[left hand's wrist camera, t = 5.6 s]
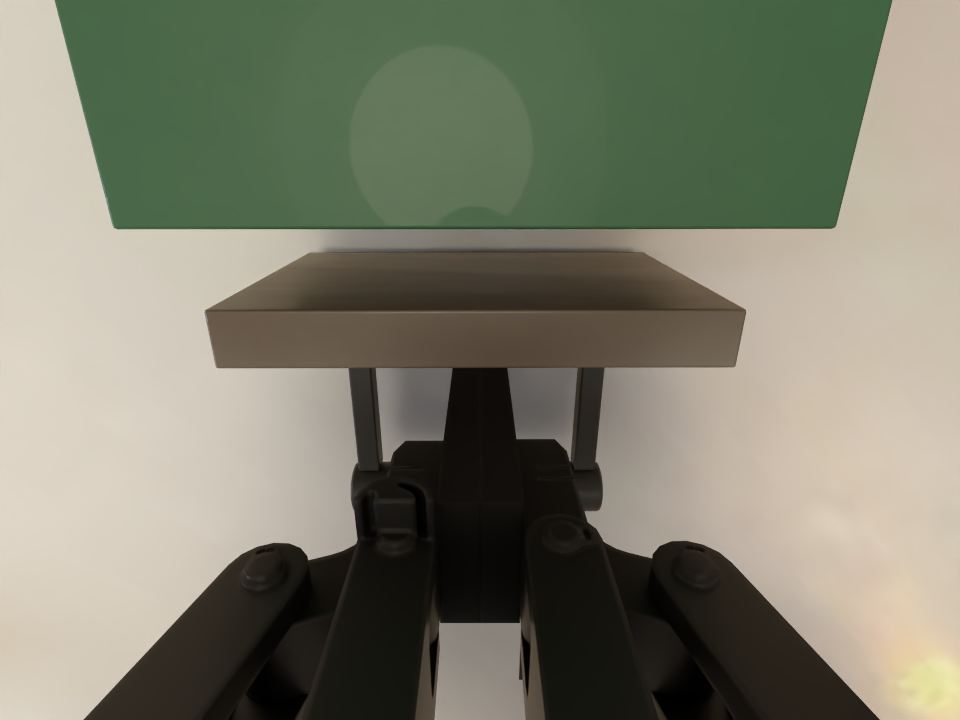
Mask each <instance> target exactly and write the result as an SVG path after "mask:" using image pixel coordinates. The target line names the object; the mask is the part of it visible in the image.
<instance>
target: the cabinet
mask: <svg viewBox="0 0 960 720" xmlns="http://www.w3.org/2000/svg"><path fill="white" fill-rule="evenodd" d="M55 3H56V7H57V11H58V15H59V19H60V22H61V26H62V30H63V34H64V38H65V42H66V46H67V50H68V54H69V57H70V61H71V65H72V69H73V73H74V77H75V81H76V85H77V88H78V92H79V96H80V100H81V104H82V108H83V112H84V116H85V120H86V123H87V127H88V131H89V135H90V139H91V143H92V147H93V151H94V154H95V158H96V162H97V166H98V170H99V174H100V178H101V182H102V186H103V189H104V193H105V197H106V201H107V205H108V209H109V213H110V217H111V220H112V224H113V227H114V228H116V229H832V228H834V227H835V226H836V224H837V220H838V216H839V212H840V208H841V204H842V200H843V196H844V192H845V188H846V184H847V180H848V176H849V172H850V168H851V164H852V160H853V156H854V152H855V148H856V144H857V140H858V136H859V132H860V128H861V124H862V120H863V116H864V112H865V108H866V104H867V100H868V96H869V92H870V88H871V84H872V80H873V76H874V72H875V68H876V64H877V60H878V56H879V52H880V48H881V44H882V40H883V36H884V32H885V28H886V24H887V20H888V16H889V12H890V8H891V4H892V0H55Z"/></svg>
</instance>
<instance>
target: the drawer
mask: <svg viewBox="0 0 960 720" xmlns="http://www.w3.org/2000/svg"><path fill="white" fill-rule="evenodd" d="M745 315H746V310H745V309H743V308H742V307H740V306H738V305H736V304H735V303H733V302H731V301H729V300H727V299H726V298H724V297H722V296H720V295H718V294H717V293H715V292H713V291H711V290H709V289H708V288H706V287H704V286H702V285H700V284H699V283H697V282H695V281H693V280H691V279H690V278H688V277H686V276H684V275H682V274H681V273H679V272H677V271H675V270H674V269H672V268H670V267H668V266H666V265H665V264H663V263H661V262H659V261H657V260H656V259H654V258H652V257H650V256H648V255H647V254H645V253H643V252H589V253H308V254H307V255H305V256H303V257H301V258H299V259H298V260H296V261H294V262H292V263H290V264H288V265H287V266H285V267H283V268H281V269H279V270H278V271H276V272H274V273H272V274H270V275H269V276H267V277H265V278H263V279H261V280H259V281H258V282H256V283H254V284H252V285H250V286H249V287H247V288H245V289H243V290H241V291H240V292H238V293H236V294H234V295H232V296H230V297H229V298H227V299H225V300H223V301H221V302H220V303H218V304H216V305H214V306H212V307H211V308H209V309H207V310H205V316H206V321H207V326H208V331H209V336H210V340H211V345H212V350H213V355H214V360H215V365H216V367H217V368H349V377H350V387H351V396H352V406H353V416H354V426H355V435H356V445H357V455H358V463H357V464H356V465H355V468H354V471H353V475H352V481H351V502H352V506H353V509H354V502H353V499H354V498H355V497H356V495H357V494H358V492H359V491H360V490H361V489H362V488H364V487H365V486H367V485H368V484H370V483H372V482H375V481H377V480H380V479H383V478H386V477H387V473H388V470H389V466H390V463H391V462H382V461H383V454H382V442H381V430H380V417H379V405H378V393H377V380H376V368H578V370H577V383H576V397H575V410H574V423H573V436H572V449H571V461H570V464H571V468H572V471H573V475H574V479H575V481H576V485H577V488H578V492H579V495H580V498H581V502H582V505H583V509H584V511H598V510H599V509H600V507H601V504H602V497H603V485H602V476H601V472H600V468H599V466H598V464H597V463H596V462H595V459H596V448H597V438H598V428H599V417H600V407H601V397H602V386H603V376H604V367H735V365H736V360H737V355H738V350H739V345H740V340H741V335H742V330H743V325H744V320H745Z"/></svg>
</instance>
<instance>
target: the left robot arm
mask: <svg viewBox="0 0 960 720" xmlns="http://www.w3.org/2000/svg"><path fill="white" fill-rule="evenodd" d="M353 502H354V511H355V520H356V529H357V538H358V540H357V544H355V545H354V546H352V547H350V548H348V549H346V550H344V551H342V552H339V553H336V554H333V555H329V556H325V557H321V558H317V559H312V560H308V557H307V555H306V554H305V553H304V552H303V551H302V549H301V548H299V547H296V546H294V545H291V544H288V543H272V544H268V545H263V546H259V547H256V548H254V549H252V550H250V551H248V552H246V553H244V554H242V555H240V556H239V557H238V558H237V559H235V560H234V561H233V562H232V563H230V564H229V565H228V566H227V567H226V568H225V569H224V570H223V572H222V573H221V574H220V575H219V576H218V577H217V578H216V579H215V580H214V581H213V582H212V583H211V584H210V585H209V587H208V588H207V589H206V590H205V591H204V592H203V593H202V594H201V595H200V596H199V597H198V598H197V599H196V600H195V601H194V603H193V604H192V605H191V606H190V607H189V608H188V609H187V610H186V611H185V612H184V613H183V614H182V615H181V616H180V617H179V619H178V620H177V621H176V622H175V623H174V624H173V625H172V626H171V627H170V628H169V629H168V630H167V631H166V632H165V633H164V635H163V636H162V637H161V638H160V639H159V640H158V641H157V642H156V643H155V644H154V645H153V646H152V647H151V648H150V649H149V651H148V652H147V653H146V654H145V655H144V656H143V657H142V658H141V659H140V660H139V661H138V662H137V663H136V664H135V666H134V667H133V668H132V669H131V670H130V671H129V672H128V673H127V674H126V675H125V676H124V677H123V678H122V679H121V680H120V682H119V683H118V684H117V685H116V686H115V687H114V688H113V689H112V690H111V691H110V692H109V693H108V694H107V695H106V696H105V698H104V699H103V700H102V701H101V702H100V703H99V704H98V705H97V706H96V707H95V708H94V709H93V710H92V711H91V712H90V714H89V715H88V716H87V717H86V718H85V719H84V720H434V715H435V703H436V690H437V677H438V664H439V652H440V647H439V621H440V623H520V619H521V646H520V671H519V680H523V689H524V702H525V715H526V720H880V719H879V718H878V717H877V716H876V715H875V714H874V713H873V712H872V711H871V710H870V709H869V708H868V707H867V706H866V705H865V704H864V702H863V701H862V700H861V699H860V698H859V697H858V696H857V695H856V694H855V693H854V692H853V691H852V690H851V689H850V688H849V687H848V686H847V684H846V683H845V682H844V681H843V680H842V679H841V678H840V677H839V676H838V675H837V674H836V673H835V672H834V671H833V670H832V669H831V667H830V666H829V665H828V664H827V663H826V662H825V661H824V660H823V659H822V658H821V657H820V656H819V655H818V654H817V653H816V652H815V651H814V649H813V648H812V647H811V646H810V645H809V644H808V643H807V642H806V641H805V640H804V639H803V638H802V637H801V636H800V635H799V634H798V632H797V631H796V630H795V629H794V628H793V627H792V626H791V625H790V624H789V623H788V622H787V621H786V620H785V619H784V618H783V617H782V616H781V614H780V613H779V612H778V611H777V610H776V609H775V608H774V607H773V606H772V605H771V604H770V603H769V602H768V601H767V600H766V599H765V597H764V596H763V595H762V594H761V593H760V592H759V591H758V590H757V589H756V588H755V587H754V586H753V585H752V584H751V583H750V582H749V581H748V579H747V578H746V577H745V576H744V575H743V574H742V573H741V572H740V571H739V570H738V569H737V568H736V567H735V566H734V565H733V564H732V563H731V562H730V561H729V560H728V559H726V558H725V557H724V556H723V555H721V554H720V553H719V552H717V551H715V550H713V549H711V548H709V547H707V546H705V545H702V544H697V543H693V542H689V541H671V542H669V543H666V544H664V545H661V546H659V548H658V549H657V550H656V551H655V552H654V554H653V557H652V558H648V557H643V556H639V555H635V554H631V553H627V552H624V551H621V550H618V549H616V548H614V547H612V546H610V545H608V544H606V543H605V542H603V540H602V538H601V536H600V534H599V533H598V531H597V529H596V528H594V527H593V526H592V525H590V524H589V523H588V522H587V519H586V515H585V512H584V509H583V505H582V502H581V498H580V495H579V492H578V488H577V485H576V481H575V479H574V475H573V471H572V468H571V464H570V461H569V457H568V454H567V451H566V450H565V449H564V448H563V447H562V446H561V445H560V444H559V443H558V442H557V441H556V440H555V439H516V433H515V425H514V418H513V410H512V402H511V394H510V386H509V378H508V371H507V368H453V371H452V378H451V386H450V394H449V402H448V410H447V418H446V425H445V433H444V441H405V442H404V443H403V444H402V445H401V446H400V447H399V448H398V449H397V450H396V451H395V452H394V453H393V456H392V459H391V463H390V466H389V470H388V473H387V477H386V478H383V479H380V480H377V481H375V482H372V483H370V484H368V485H367V486H365V487H364V488H362V489H361V490H360V491H359V492H358V494H357V495H356V497H355V498H354V499H353Z"/></svg>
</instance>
